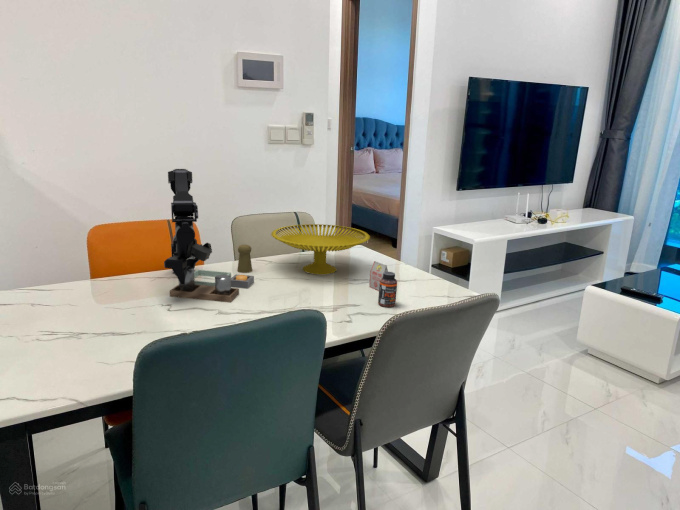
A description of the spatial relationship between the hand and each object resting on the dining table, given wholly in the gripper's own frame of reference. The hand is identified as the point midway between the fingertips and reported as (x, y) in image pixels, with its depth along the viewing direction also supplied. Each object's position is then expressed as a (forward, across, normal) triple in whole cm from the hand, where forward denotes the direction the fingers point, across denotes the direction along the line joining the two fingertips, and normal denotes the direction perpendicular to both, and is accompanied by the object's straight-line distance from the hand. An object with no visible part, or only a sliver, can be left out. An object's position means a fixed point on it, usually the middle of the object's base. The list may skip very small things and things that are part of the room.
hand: (186, 281), depth 173 cm
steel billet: (+2, 0, 0) cm, 3 cm away
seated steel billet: (+4, 0, -13) cm, 14 cm away
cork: (+6, +32, -10) cm, 34 cm away
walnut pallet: (+5, 0, -6) cm, 8 cm away
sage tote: (+5, +14, -2) cm, 15 cm away
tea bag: (+6, +26, -64) cm, 69 cm away
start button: (+4, +14, -14) cm, 21 cm away
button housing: (+5, +14, -14) cm, 21 cm away
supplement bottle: (+5, +10, -68) cm, 68 cm away
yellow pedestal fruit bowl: (+6, +44, -38) cm, 58 cm away
